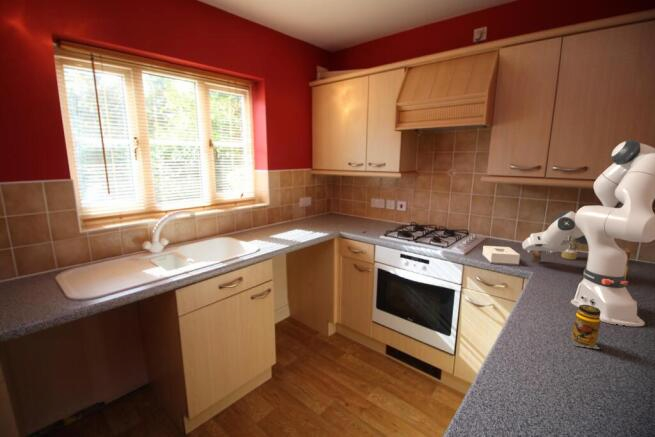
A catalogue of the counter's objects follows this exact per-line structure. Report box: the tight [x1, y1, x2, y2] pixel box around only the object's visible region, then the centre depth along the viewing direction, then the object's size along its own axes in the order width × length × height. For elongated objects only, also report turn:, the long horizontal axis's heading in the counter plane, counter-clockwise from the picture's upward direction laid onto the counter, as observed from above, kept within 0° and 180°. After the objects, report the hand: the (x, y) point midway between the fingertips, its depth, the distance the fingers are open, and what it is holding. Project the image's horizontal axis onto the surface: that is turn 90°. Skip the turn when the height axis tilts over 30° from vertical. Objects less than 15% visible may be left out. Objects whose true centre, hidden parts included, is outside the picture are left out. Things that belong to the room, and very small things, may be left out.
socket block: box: [481, 245, 521, 266], centre depth 176 cm, size 14×14×6 cm
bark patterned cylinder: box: [561, 235, 580, 261], centre depth 179 cm, size 7×7×25 cm
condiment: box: [571, 305, 602, 347], centre depth 100 cm, size 7×8×12 cm
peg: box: [531, 250, 543, 264], centre depth 174 cm, size 4×4×9 cm
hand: (538, 252), depth 173 cm, fingers open, 8 cm apart
